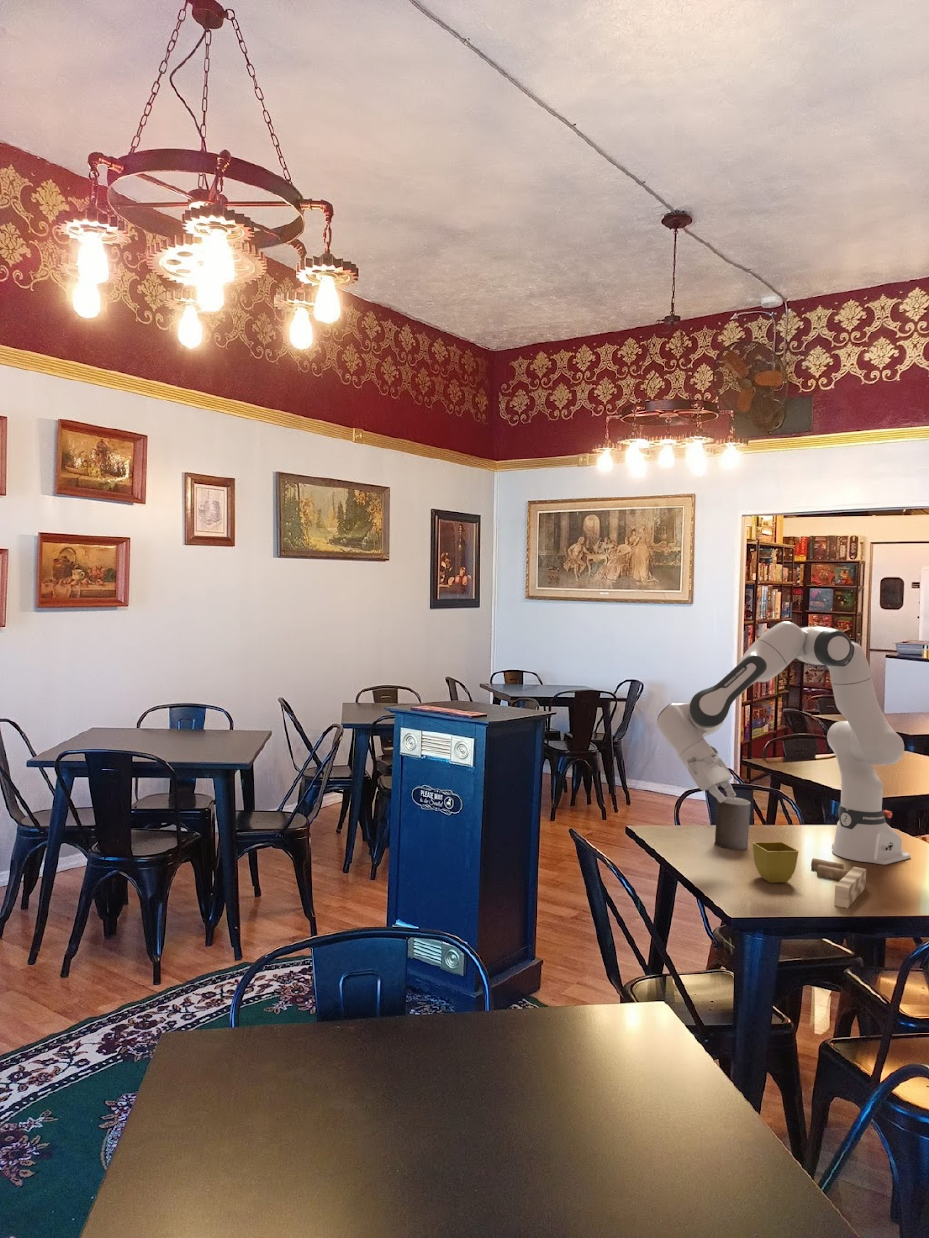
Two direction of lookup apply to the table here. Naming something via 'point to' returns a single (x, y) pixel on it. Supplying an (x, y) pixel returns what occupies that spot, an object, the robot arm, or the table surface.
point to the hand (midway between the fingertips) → (728, 799)
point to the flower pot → (775, 860)
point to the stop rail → (850, 887)
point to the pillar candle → (732, 823)
